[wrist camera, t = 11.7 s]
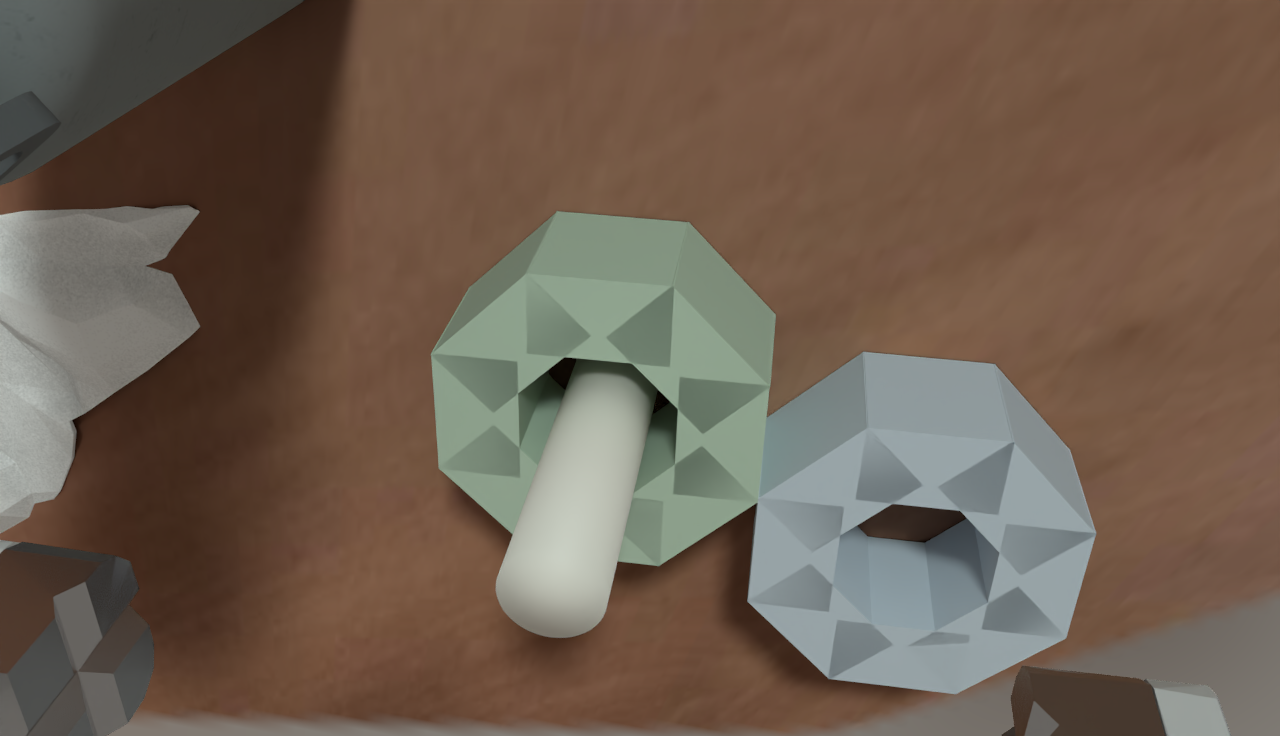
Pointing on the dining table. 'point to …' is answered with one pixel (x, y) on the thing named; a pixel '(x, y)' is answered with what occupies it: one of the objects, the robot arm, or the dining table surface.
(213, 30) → the water bottle
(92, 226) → the cloth
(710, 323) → the bead
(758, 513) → the bead
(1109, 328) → the dining table surface
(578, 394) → the dowel
